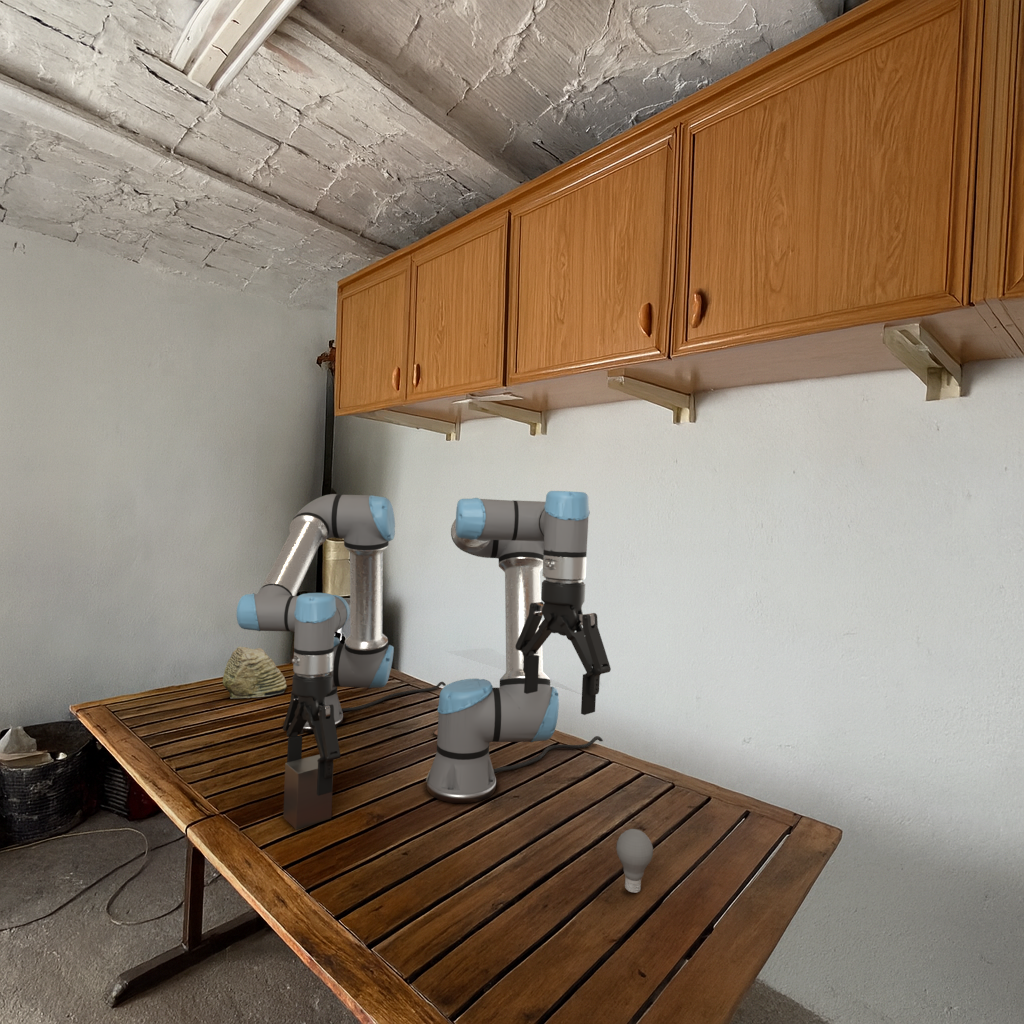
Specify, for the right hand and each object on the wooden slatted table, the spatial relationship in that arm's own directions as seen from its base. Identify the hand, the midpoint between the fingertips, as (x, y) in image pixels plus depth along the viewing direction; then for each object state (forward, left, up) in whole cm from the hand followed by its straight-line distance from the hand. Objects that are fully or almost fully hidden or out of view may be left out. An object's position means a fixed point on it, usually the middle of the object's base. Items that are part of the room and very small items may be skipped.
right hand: (558, 702), depth 110 cm
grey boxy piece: (+34, -35, -30) cm, 57 cm away
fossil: (+35, -119, -30) cm, 127 cm away
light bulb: (-10, +11, -30) cm, 33 cm away
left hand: (+35, -35, -22) cm, 54 cm away
